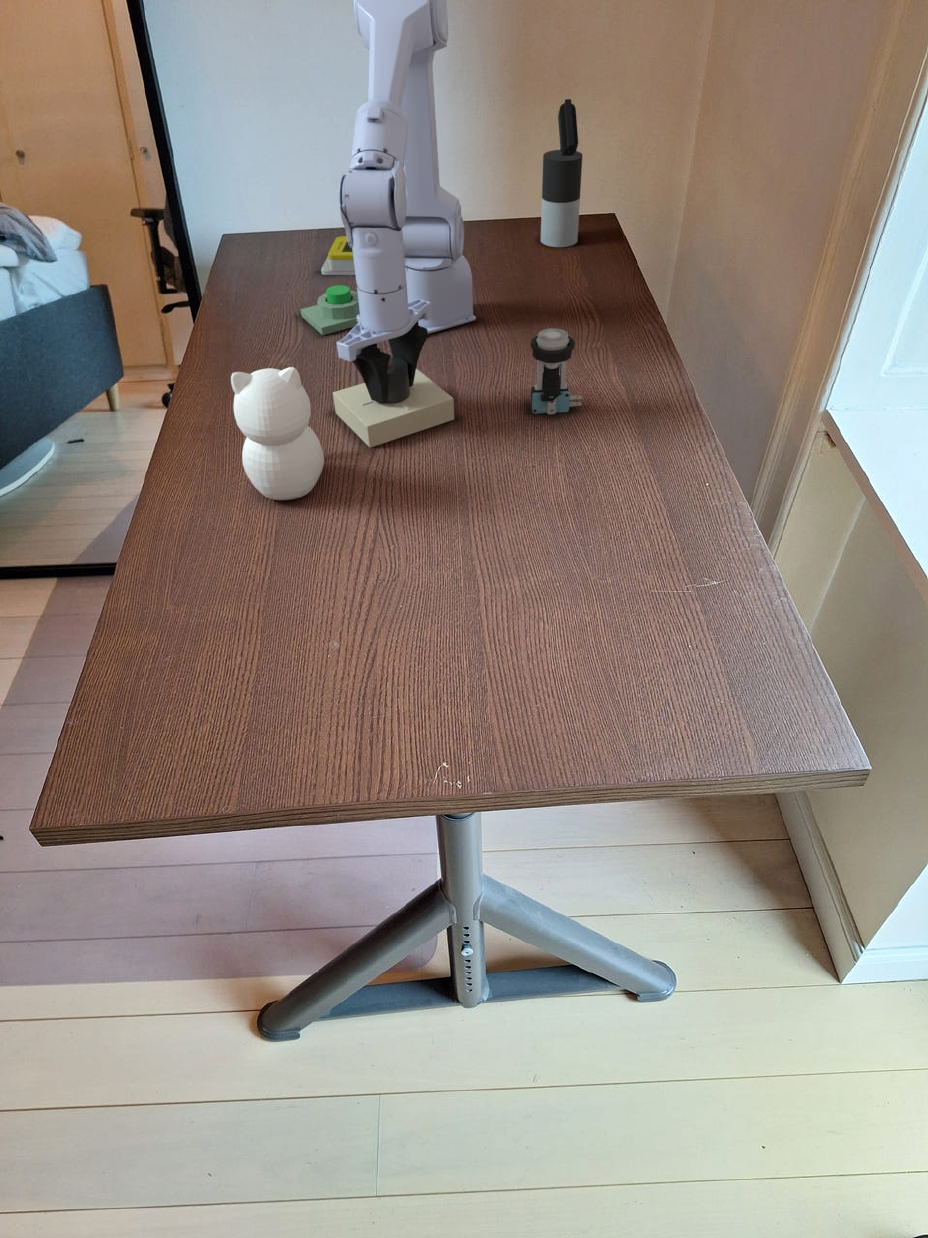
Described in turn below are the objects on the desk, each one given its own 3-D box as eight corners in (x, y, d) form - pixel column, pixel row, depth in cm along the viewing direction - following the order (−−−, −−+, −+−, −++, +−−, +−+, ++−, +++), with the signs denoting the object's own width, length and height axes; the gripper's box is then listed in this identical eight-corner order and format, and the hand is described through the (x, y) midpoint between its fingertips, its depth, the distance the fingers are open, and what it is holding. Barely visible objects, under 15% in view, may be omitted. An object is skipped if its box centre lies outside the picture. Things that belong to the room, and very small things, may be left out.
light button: (345, 294, 131) (343, 283, 130) (355, 302, 129) (354, 290, 127) (323, 300, 130) (322, 288, 128) (333, 308, 127) (332, 296, 126)
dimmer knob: (401, 383, 109) (398, 351, 106) (415, 398, 106) (412, 365, 103) (369, 391, 107) (365, 359, 105) (382, 406, 105) (379, 374, 102)
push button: (578, 397, 111) (583, 323, 104) (583, 418, 107) (589, 343, 100) (527, 399, 111) (528, 325, 104) (530, 420, 107) (532, 345, 100)
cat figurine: (247, 515, 94) (216, 392, 84) (252, 455, 103) (225, 337, 93) (328, 507, 95) (307, 384, 84) (326, 447, 104) (307, 330, 93)
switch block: (359, 301, 135) (357, 282, 133) (382, 318, 130) (380, 299, 128) (301, 316, 132) (298, 297, 130) (322, 335, 127) (319, 315, 125)
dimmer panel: (416, 387, 114) (415, 365, 112) (454, 419, 108) (453, 396, 106) (335, 413, 110) (332, 391, 108) (369, 448, 103) (367, 425, 101)
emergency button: (327, 228, 147) (413, 227, 146) (330, 254, 150) (414, 253, 149) (316, 248, 141) (406, 247, 139) (320, 274, 144) (408, 274, 142)
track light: (540, 259, 154) (555, 202, 134) (533, 167, 154) (547, 97, 134) (576, 257, 154) (596, 200, 134) (569, 165, 155) (588, 94, 135)
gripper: (397, 256, 103) (406, 361, 112) (311, 297, 95) (328, 406, 104) (442, 269, 100) (447, 376, 109) (357, 312, 92) (370, 424, 101)
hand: (392, 392), depth 106 cm, fingers closed on dimmer knob, 4 cm apart
